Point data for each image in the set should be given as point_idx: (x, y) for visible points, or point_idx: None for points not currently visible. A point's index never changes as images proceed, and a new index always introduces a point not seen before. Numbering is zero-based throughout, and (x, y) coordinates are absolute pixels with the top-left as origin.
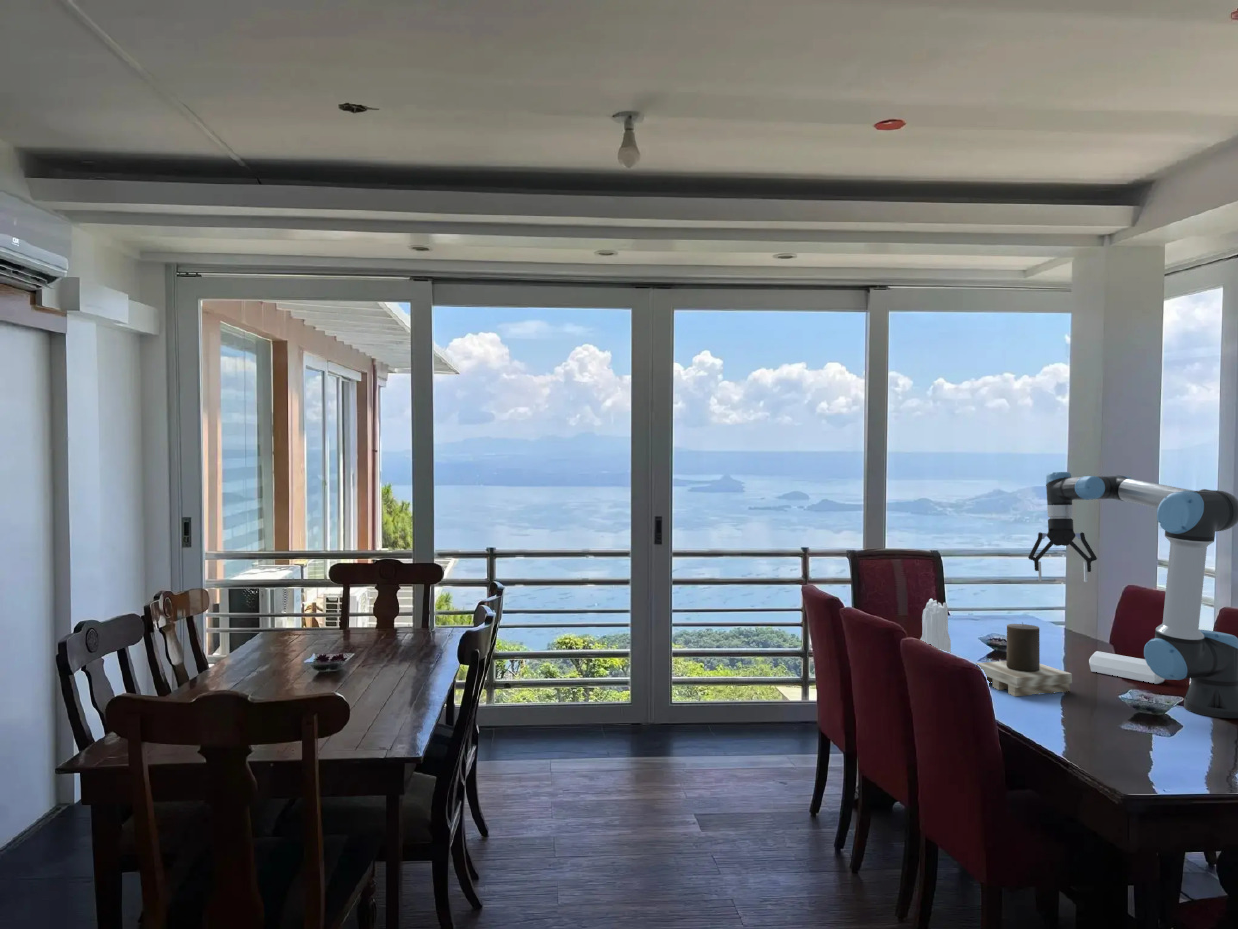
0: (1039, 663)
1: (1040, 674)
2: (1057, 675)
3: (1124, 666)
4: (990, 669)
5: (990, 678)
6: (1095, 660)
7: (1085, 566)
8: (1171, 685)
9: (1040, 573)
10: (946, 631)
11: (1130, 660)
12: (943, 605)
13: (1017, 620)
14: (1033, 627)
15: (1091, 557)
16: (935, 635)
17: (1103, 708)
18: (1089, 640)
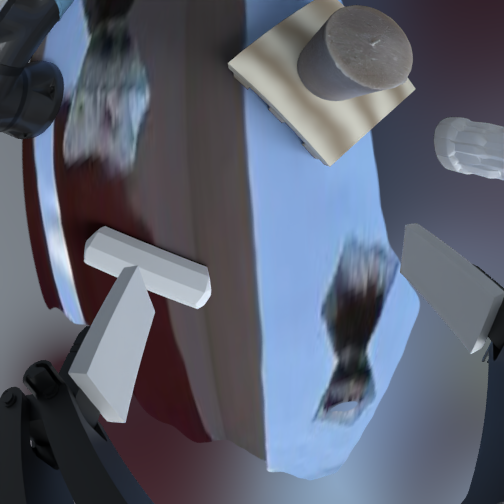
0: (300, 62)
1: (290, 29)
2: (256, 40)
3: (143, 259)
4: None
5: None
6: (197, 281)
7: (92, 342)
8: (84, 234)
9: (440, 247)
10: (493, 145)
11: None
12: None
13: (314, 470)
14: (341, 29)
15: (32, 421)
16: (499, 128)
17: (175, 4)
18: (235, 440)
